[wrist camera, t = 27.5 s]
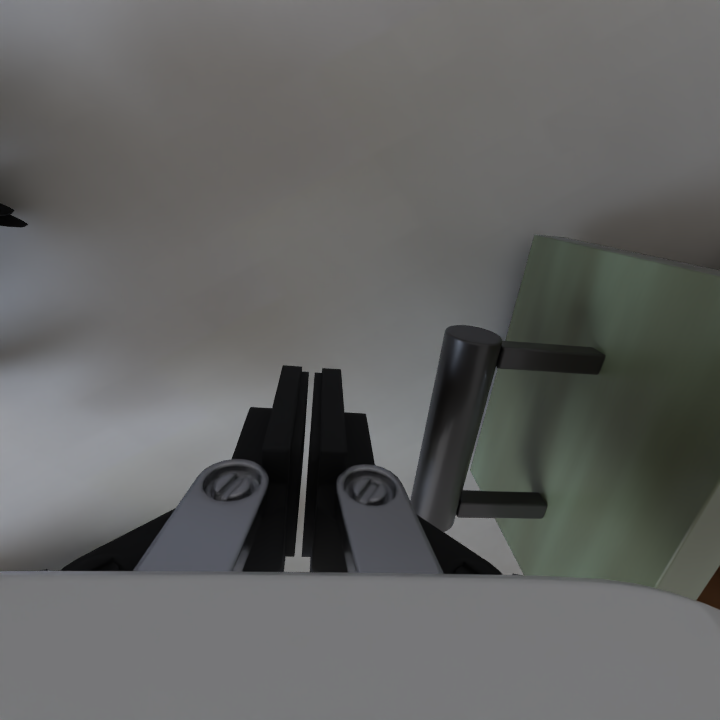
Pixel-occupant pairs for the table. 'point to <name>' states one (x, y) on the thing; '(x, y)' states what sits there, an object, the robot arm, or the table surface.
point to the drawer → (588, 421)
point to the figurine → (9, 217)
